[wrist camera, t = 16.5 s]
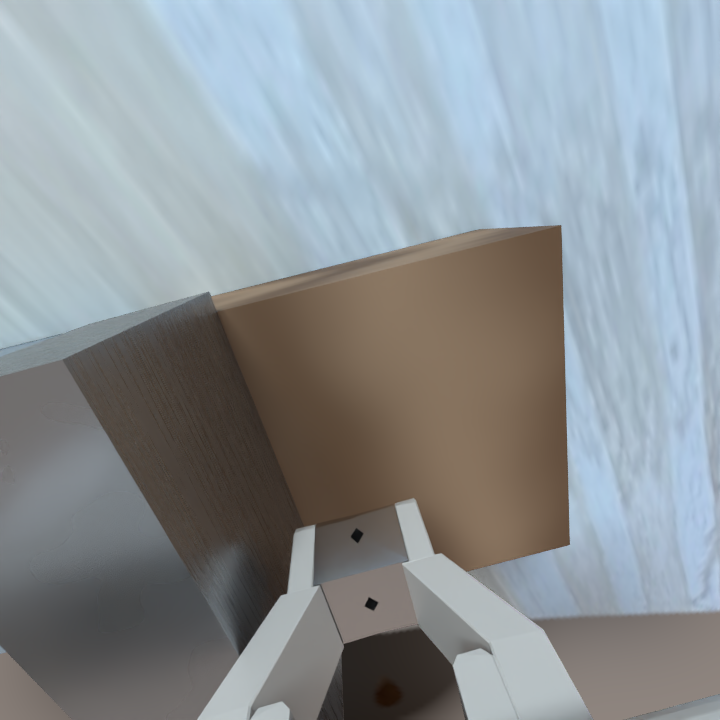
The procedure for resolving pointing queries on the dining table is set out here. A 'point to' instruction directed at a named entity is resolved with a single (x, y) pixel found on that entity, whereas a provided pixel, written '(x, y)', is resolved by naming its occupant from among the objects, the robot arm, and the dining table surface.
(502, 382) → the brown wooden block
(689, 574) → the dining table surface
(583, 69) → the dining table surface
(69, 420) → the grey stone brick
